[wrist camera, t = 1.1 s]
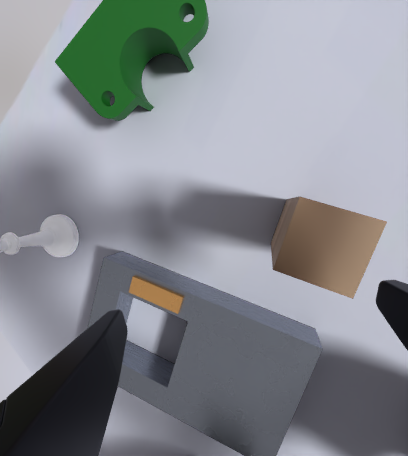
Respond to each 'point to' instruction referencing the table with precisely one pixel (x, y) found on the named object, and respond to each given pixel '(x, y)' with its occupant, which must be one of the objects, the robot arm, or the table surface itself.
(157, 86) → the table surface
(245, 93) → the table surface
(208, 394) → the grey peg hole board
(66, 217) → the chess piece
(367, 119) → the table surface
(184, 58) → the clamp
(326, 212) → the walnut peg
